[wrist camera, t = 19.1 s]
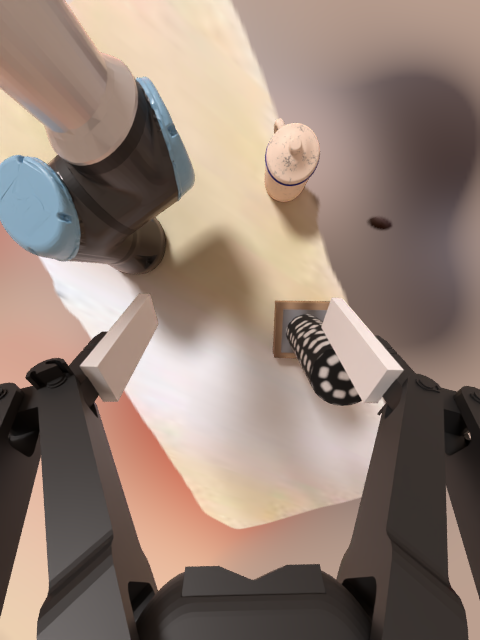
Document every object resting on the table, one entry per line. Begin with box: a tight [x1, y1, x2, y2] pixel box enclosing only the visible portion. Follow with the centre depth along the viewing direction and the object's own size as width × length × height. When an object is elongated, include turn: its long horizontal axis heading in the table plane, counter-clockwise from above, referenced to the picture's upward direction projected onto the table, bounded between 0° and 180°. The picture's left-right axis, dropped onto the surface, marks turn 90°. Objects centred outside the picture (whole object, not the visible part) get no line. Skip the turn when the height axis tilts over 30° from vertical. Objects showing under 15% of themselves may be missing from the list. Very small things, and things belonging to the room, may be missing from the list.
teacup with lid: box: [265, 119, 320, 202], centre depth 36 cm, size 12×9×12 cm
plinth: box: [273, 301, 330, 358], centre depth 46 cm, size 13×13×4 cm
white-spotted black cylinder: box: [286, 314, 362, 406], centre depth 34 cm, size 8×8×20 cm
